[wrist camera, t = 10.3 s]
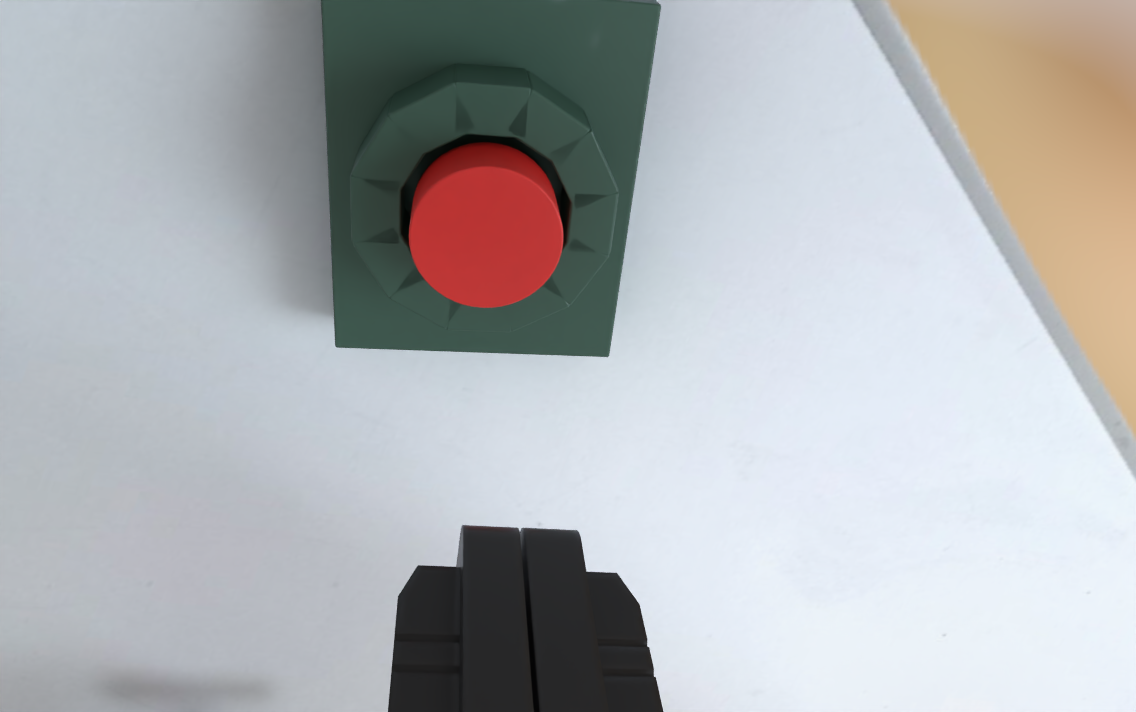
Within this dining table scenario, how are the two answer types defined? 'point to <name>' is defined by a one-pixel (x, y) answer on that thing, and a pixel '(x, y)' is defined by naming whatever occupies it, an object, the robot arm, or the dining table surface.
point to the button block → (470, 115)
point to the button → (485, 225)
